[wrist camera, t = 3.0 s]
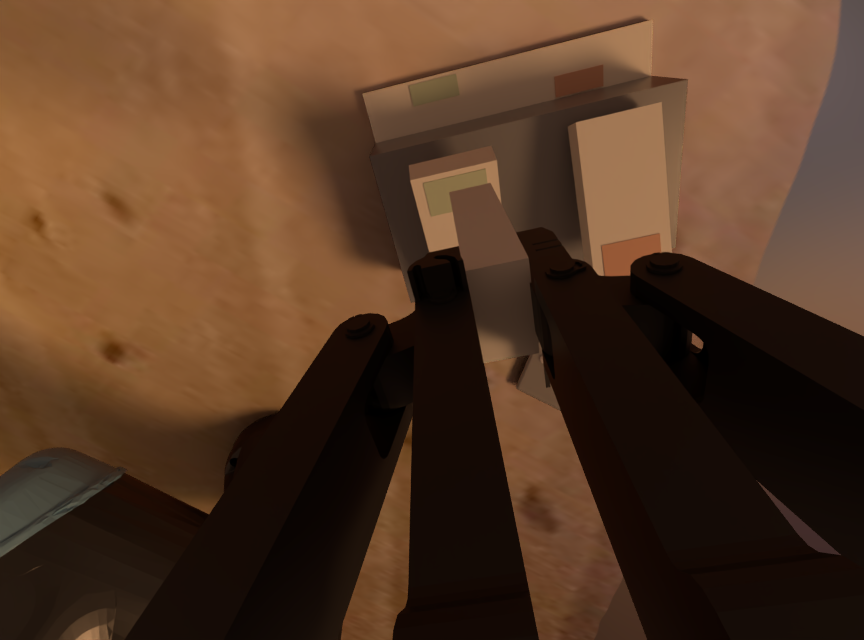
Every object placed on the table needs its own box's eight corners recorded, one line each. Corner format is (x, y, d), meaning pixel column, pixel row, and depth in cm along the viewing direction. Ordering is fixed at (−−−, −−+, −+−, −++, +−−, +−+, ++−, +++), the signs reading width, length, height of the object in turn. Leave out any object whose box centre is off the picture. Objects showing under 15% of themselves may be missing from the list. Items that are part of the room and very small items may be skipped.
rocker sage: (440, 288, 30) (443, 305, 28) (408, 165, 23) (410, 180, 22) (505, 274, 29) (510, 291, 28) (491, 145, 23) (497, 160, 22)
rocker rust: (586, 281, 27) (595, 287, 25) (567, 126, 24) (575, 122, 23) (660, 266, 27) (673, 271, 25) (647, 107, 24) (662, 101, 22)
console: (411, 272, 35) (410, 311, 30) (363, 93, 28) (350, 102, 23) (642, 222, 33) (684, 254, 28) (648, 20, 27) (705, 11, 21)
